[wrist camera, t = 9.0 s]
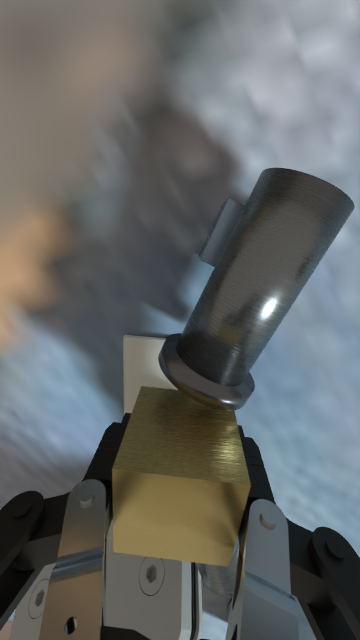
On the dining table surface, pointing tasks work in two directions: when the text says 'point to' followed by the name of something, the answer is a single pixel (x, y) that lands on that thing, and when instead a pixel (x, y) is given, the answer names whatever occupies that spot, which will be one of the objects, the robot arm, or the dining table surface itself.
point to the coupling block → (179, 480)
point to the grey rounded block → (131, 597)
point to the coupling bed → (141, 367)
